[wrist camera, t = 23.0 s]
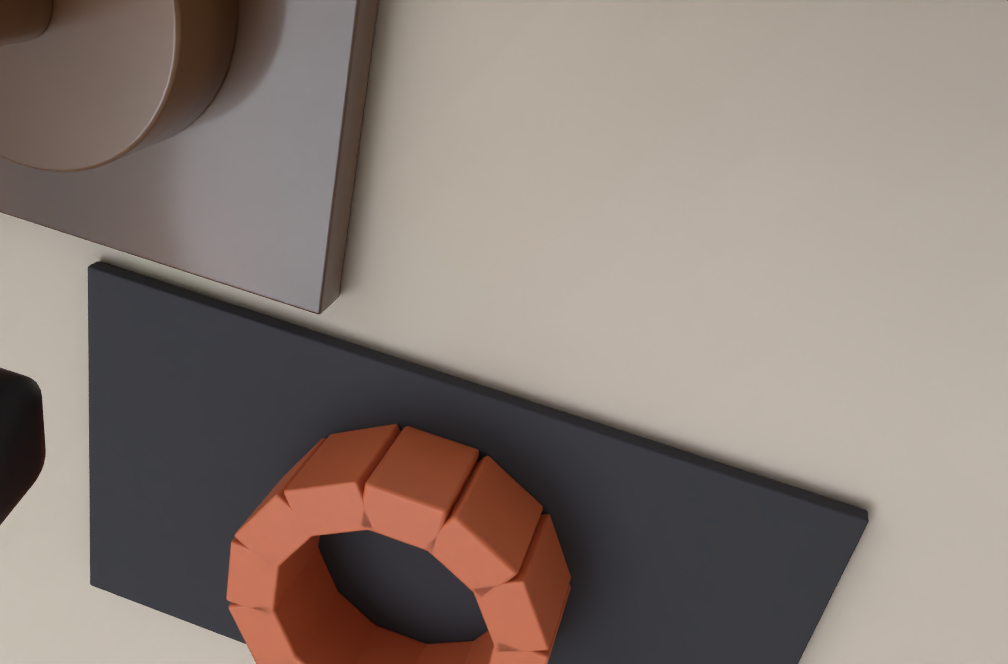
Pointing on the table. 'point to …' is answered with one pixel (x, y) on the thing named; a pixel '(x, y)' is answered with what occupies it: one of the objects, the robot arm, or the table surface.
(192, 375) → the felt mat
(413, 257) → the table surface
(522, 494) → the terracotta ring
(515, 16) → the table surface
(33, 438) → the robot arm
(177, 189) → the stand
